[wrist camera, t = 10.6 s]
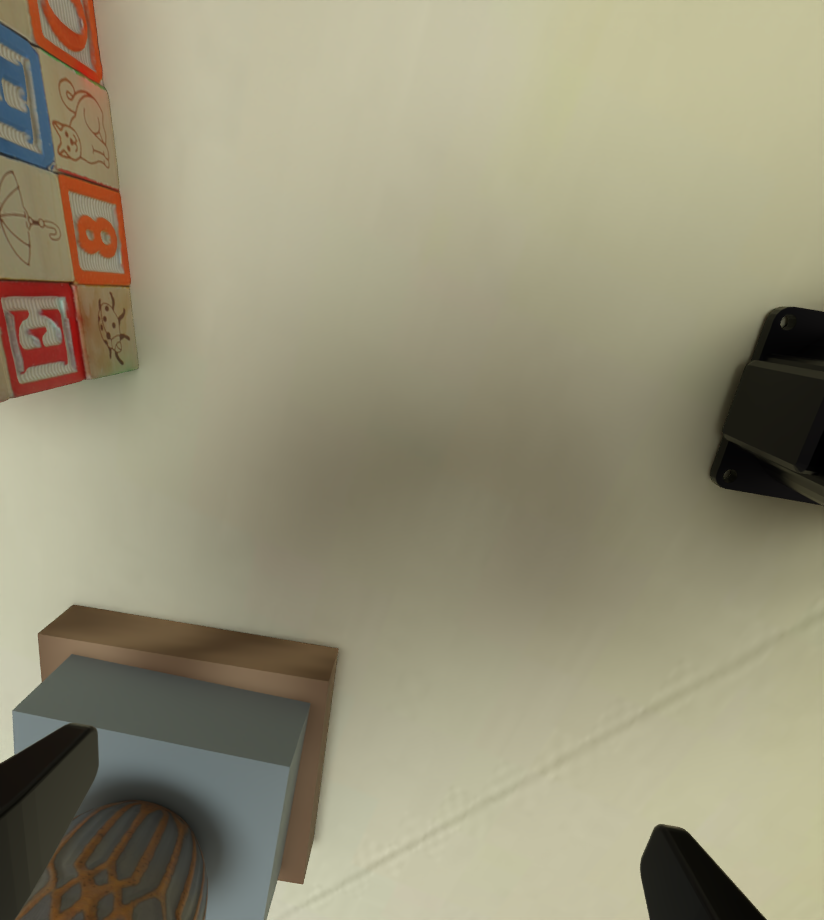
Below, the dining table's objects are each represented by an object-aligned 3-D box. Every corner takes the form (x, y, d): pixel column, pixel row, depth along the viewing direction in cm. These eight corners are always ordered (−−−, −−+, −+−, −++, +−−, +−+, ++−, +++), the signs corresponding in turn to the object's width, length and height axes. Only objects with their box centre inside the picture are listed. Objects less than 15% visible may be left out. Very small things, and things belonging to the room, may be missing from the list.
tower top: (310, 703, 21) (289, 767, 18) (280, 868, 24) (258, 946, 21) (71, 653, 20) (12, 710, 18) (72, 826, 24) (21, 899, 21)
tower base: (342, 634, 23) (328, 681, 20) (317, 822, 27) (303, 884, 24) (87, 593, 23) (37, 633, 20) (96, 785, 27) (56, 843, 24)
